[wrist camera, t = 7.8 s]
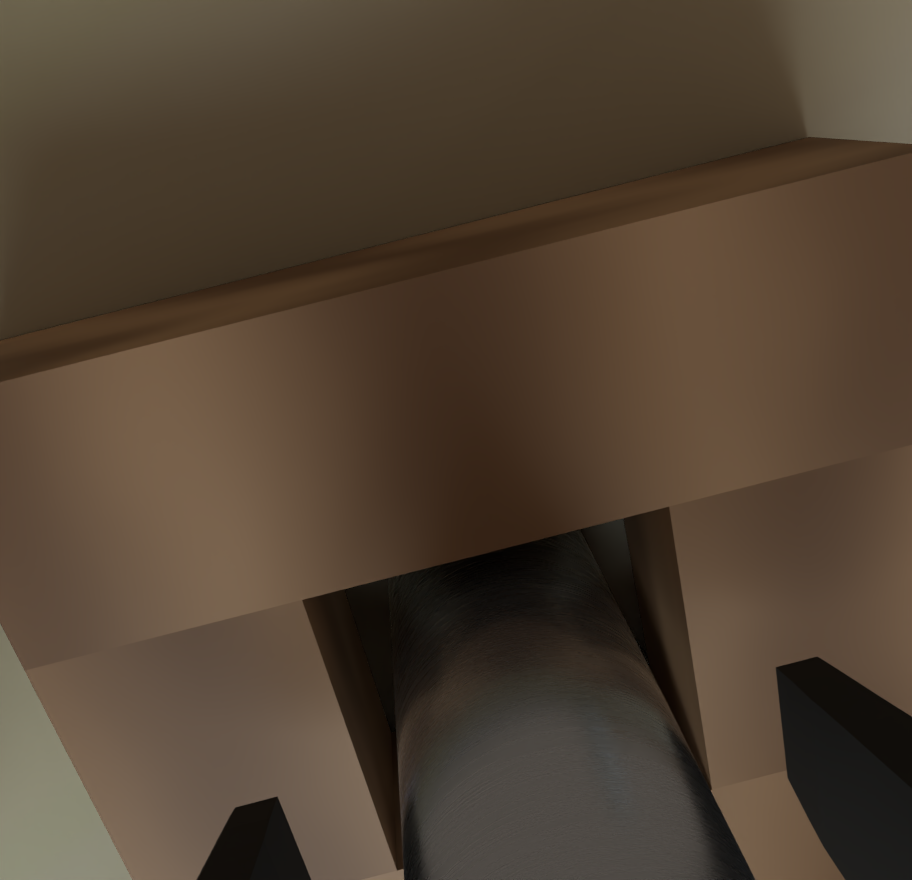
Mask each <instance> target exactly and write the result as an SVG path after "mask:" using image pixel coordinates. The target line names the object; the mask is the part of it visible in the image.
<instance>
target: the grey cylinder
mask: <svg viewBox="0 0 912 880" xmlns="http://www.w3.org/2000/svg"><path fill="white" fill-rule="evenodd" d="M388 589H389V608H390V627H391V645H392V664H393V683H394V701H395V720H396V738H397V757H398V776H399V794H400V813H401V832H402V850H403V869H404V880H755V878H754V876H753V874H752V872H751V870H750V868H749V866H748V864H747V862H746V860H745V858H744V856H743V854H742V852H741V850H740V848H739V846H738V844H737V842H736V840H735V838H734V836H733V834H732V832H731V830H730V828H729V826H728V824H727V822H726V820H725V818H724V816H723V814H722V812H721V810H720V808H719V806H718V804H717V802H716V800H715V798H714V796H713V794H712V792H711V790H710V788H709V786H708V784H707V782H706V780H705V778H704V776H703V774H702V772H701V770H700V768H699V766H698V764H697V762H696V760H695V758H694V756H693V754H692V752H691V750H690V748H689V746H688V744H687V742H686V740H685V738H684V736H683V734H682V732H681V730H680V728H679V726H678V724H677V722H676V720H675V718H674V716H673V714H672V712H671V710H670V708H669V706H668V704H667V702H666V700H665V698H664V696H663V694H662V692H661V690H660V688H659V686H658V684H657V682H656V680H655V678H654V676H653V674H652V672H651V670H650V668H649V666H648V664H647V662H646V660H645V658H644V656H643V654H642V652H641V650H640V648H639V646H638V644H637V642H636V640H635V638H634V636H633V634H632V632H631V630H630V628H629V626H628V624H627V622H626V620H625V618H624V616H623V614H622V612H621V610H620V608H619V606H618V604H617V602H616V600H615V598H614V596H613V594H612V592H611V590H610V588H609V586H608V584H607V582H606V580H605V578H604V576H603V574H602V572H601V570H600V568H599V566H598V564H597V562H596V560H595V558H594V556H593V554H592V552H591V550H590V548H589V546H588V544H587V542H586V540H585V538H584V536H583V534H582V533H581V531H580V529H579V530H575V531H571V532H567V533H563V534H559V535H555V536H551V537H547V538H543V539H540V540H536V541H532V542H528V543H524V544H520V545H516V546H512V547H508V548H504V549H500V550H496V551H492V552H488V553H485V554H481V555H477V556H473V557H469V558H465V559H461V560H457V561H453V562H449V563H445V564H441V565H437V566H433V567H430V568H426V569H422V570H418V571H414V572H410V573H406V574H402V575H398V576H394V577H390V578H388Z"/></svg>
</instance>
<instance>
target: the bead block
mask: <svg viewBox="0 0 912 880" xmlns="http://www.w3.org/2000/svg"><path fill="white" fill-rule="evenodd" d="M622 518H624V524H625V530H626V535H627V541H628V547H629V552H630V558H631V564H632V569H633V575H634V581H635V586H636V592H637V598H638V604H639V609H640V615H641V621H642V626H643V632H644V638H645V643H646V649H647V655H648V660H649V666H650V667H649V668H650V670H651V672H652V674H653V676H654V678H655V680H656V682H657V684H658V686H659V688H660V690H661V692H662V694H663V696H664V698H665V700H666V702H667V704H668V706H669V708H670V710H671V712H672V714H673V716H674V718H675V720H676V722H677V724H678V726H679V728H680V730H681V732H682V734H683V736H684V738H685V740H686V742H687V744H688V746H689V748H690V750H691V752H692V754H693V756H694V758H695V760H696V762H697V764H698V766H699V768H700V770H701V772H702V774H703V776H704V778H705V780H706V782H707V784H708V786H709V788H710V790H711V792H712V794H713V796H714V798H715V800H716V802H717V804H718V806H719V808H720V810H721V812H722V814H723V816H724V818H725V820H726V822H727V824H728V826H729V828H730V830H731V832H732V834H733V836H734V838H735V840H736V842H737V844H738V846H739V848H740V850H741V852H742V854H743V856H744V858H745V860H746V862H747V864H748V866H749V868H750V870H751V872H752V874H753V876H754V878H755V880H845V879H844V877H843V876H842V874H841V873H840V871H839V870H838V868H837V867H836V865H835V864H834V862H833V861H832V859H831V857H830V856H829V854H828V853H827V851H826V850H825V848H824V847H823V845H822V843H821V841H820V839H819V838H818V836H817V834H816V832H815V830H814V828H813V826H812V824H811V823H810V821H809V819H808V817H807V815H806V813H805V811H804V809H803V807H802V805H801V803H800V801H799V799H798V797H797V795H796V793H795V792H794V790H793V788H792V786H791V784H790V782H789V780H788V778H787V769H786V759H785V750H784V741H783V732H782V722H781V713H780V704H779V694H778V685H777V676H776V667H779V666H782V665H786V664H790V663H794V662H798V661H802V660H806V659H809V658H813V657H817V656H818V657H819V658H821V659H822V660H824V661H826V662H827V663H829V664H830V665H832V666H834V667H835V668H837V669H838V670H840V671H841V672H843V673H845V674H846V675H848V676H849V677H851V678H852V679H854V680H855V681H857V682H858V683H860V684H862V685H863V686H865V687H866V688H868V689H869V690H871V691H872V692H874V693H876V694H877V695H879V696H880V697H882V698H883V699H885V700H887V701H888V702H890V703H891V704H893V705H894V706H896V707H898V708H899V709H901V710H902V711H904V712H905V713H907V714H909V715H910V716H912V144H902V143H887V142H873V141H858V140H844V139H830V138H815V137H808V138H804V139H800V140H796V141H792V142H788V143H784V144H780V145H776V146H772V147H768V148H764V149H760V150H756V151H752V152H748V153H744V154H740V155H736V156H732V157H728V158H724V159H720V160H716V161H712V162H708V163H704V164H700V165H696V166H692V167H688V168H684V169H680V170H676V171H673V172H669V173H665V174H661V175H657V176H653V177H649V178H645V179H641V180H637V181H633V182H629V183H625V184H621V185H617V186H613V187H609V188H605V189H601V190H597V191H593V192H589V193H585V194H581V195H577V196H573V197H569V198H565V199H561V200H557V201H553V202H549V203H545V204H541V205H537V206H533V207H529V208H525V209H521V210H517V211H513V212H509V213H505V214H501V215H497V216H493V217H489V218H485V219H481V220H478V221H474V222H470V223H466V224H462V225H458V226H454V227H450V228H446V229H442V230H438V231H434V232H430V233H426V234H422V235H418V236H414V237H410V238H406V239H402V240H398V241H394V242H390V243H386V244H382V245H378V246H374V247H370V248H366V249H362V250H358V251H354V252H350V253H346V254H342V255H338V256H334V257H330V258H326V259H322V260H318V261H314V262H310V263H306V264H302V265H298V266H294V267H290V268H286V269H282V270H279V271H275V272H271V273H267V274H263V275H259V276H255V277H251V278H247V279H243V280H239V281H235V282H231V283H227V284H223V285H219V286H215V287H211V288H207V289H203V290H199V291H195V292H191V293H187V294H183V295H179V296H175V297H171V298H167V299H163V300H159V301H155V302H151V303H147V304H143V305H139V306H135V307H131V308H127V309H123V310H119V311H115V312H111V313H107V314H103V315H99V316H95V317H91V318H87V319H83V320H80V321H76V322H72V323H68V324H64V325H60V326H56V327H52V328H48V329H44V330H40V331H36V332H32V333H28V334H24V335H20V336H16V337H12V338H8V339H4V340H0V624H1V625H2V627H3V629H4V631H5V633H6V635H7V637H8V639H9V641H10V643H11V645H12V647H13V649H14V651H15V653H16V655H17V657H18V658H19V660H20V662H21V664H22V666H23V668H24V670H25V672H26V674H27V676H28V678H29V680H30V682H31V684H32V686H33V688H34V690H35V691H36V693H37V695H38V697H39V699H40V701H41V703H42V705H43V707H44V709H45V711H46V713H47V715H48V717H49V719H50V721H51V723H52V724H53V726H54V728H55V730H56V732H57V734H58V736H59V738H60V740H61V742H62V744H63V746H64V748H65V750H66V752H67V754H68V755H69V757H70V759H71V761H72V763H73V765H74V767H75V769H76V771H77V773H78V775H79V777H80V779H81V781H82V783H83V785H84V787H85V788H86V790H87V792H88V794H89V796H90V798H91V800H92V802H93V804H94V806H95V808H96V810H97V812H98V814H99V816H100V818H101V820H102V821H103V823H104V825H105V827H106V829H107V831H108V833H109V835H110V837H111V839H112V841H113V843H114V845H115V847H116V849H117V851H118V853H119V854H120V856H121V858H122V860H123V862H124V864H125V866H126V868H127V870H128V872H129V874H130V876H131V878H132V880H196V879H197V878H198V876H199V874H200V872H201V870H202V868H203V866H204V864H205V862H206V860H207V859H208V857H209V855H210V853H211V851H212V849H213V847H214V845H215V843H216V841H217V839H218V837H219V836H220V834H221V832H222V830H223V828H224V826H225V824H226V822H227V820H228V819H229V817H230V815H231V813H232V812H233V810H234V809H235V807H239V806H243V805H246V804H250V803H254V802H258V801H262V800H266V799H270V798H273V797H277V796H278V799H279V801H280V804H281V806H282V809H283V811H284V814H285V816H286V819H287V821H288V823H289V826H290V828H291V831H292V833H293V836H294V838H295V841H296V843H297V846H298V848H299V851H300V853H301V856H302V858H303V860H304V863H305V865H306V868H307V870H308V873H309V875H310V878H311V880H404V869H403V850H402V832H401V813H400V794H399V776H398V757H397V738H396V732H393V733H391V731H390V728H389V725H388V722H387V719H386V716H385V713H384V710H383V707H382V704H381V701H380V698H379V694H378V691H377V688H376V685H375V682H374V679H373V676H372V673H371V670H370V667H369V664H368V661H367V658H366V655H365V652H364V649H363V646H362V643H361V639H360V636H359V633H358V630H357V627H356V624H355V621H354V618H353V615H352V612H351V609H350V606H349V603H348V600H347V597H346V594H345V591H344V589H347V588H351V587H355V586H359V585H363V584H367V583H371V582H375V581H378V580H382V579H386V578H390V577H394V576H398V575H402V574H406V573H410V572H414V571H418V570H422V569H426V568H430V567H433V566H437V565H441V564H445V563H449V562H453V561H457V560H461V559H465V558H469V557H473V556H477V555H481V554H485V553H488V552H492V551H496V550H500V549H504V548H508V547H512V546H516V545H520V544H524V543H528V542H532V541H536V540H540V539H543V538H547V537H551V536H555V535H559V534H563V533H567V532H571V531H575V530H579V529H583V528H587V527H591V526H595V525H598V524H602V523H606V522H610V521H614V520H618V519H622Z"/></svg>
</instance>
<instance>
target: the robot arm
mask: <svg viewBox="0 0 912 880" xmlns="http://www.w3.org/2000/svg"><path fill="white" fill-rule="evenodd" d="M776 676H777V685H778V694H779V704H780V713H781V722H782V732H783V741H784V750H785V759H786V769H787V778H788V780H789V782H790V784H791V786H792V788H793V790H794V792H795V793H796V795H797V797H798V799H799V801H800V803H801V805H802V807H803V809H804V811H805V813H806V815H807V817H808V819H809V821H810V823H811V824H812V826H813V828H814V830H815V832H816V834H817V836H818V838H819V839H820V841H821V843H822V845H823V847H824V848H825V850H826V851H827V853H828V854H829V856H830V857H831V859H832V861H833V862H834V864H835V865H836V867H837V868H838V870H839V871H840V873H841V874H842V876H843V877H844V879H845V880H912V716H910V715H909V714H907V713H905V712H904V711H902V710H901V709H899V708H898V707H896V706H894V705H893V704H891V703H890V702H888V701H887V700H885V699H883V698H882V697H880V696H879V695H877V694H876V693H874V692H872V691H871V690H869V689H868V688H866V687H865V686H863V685H862V684H860V683H858V682H857V681H855V680H854V679H852V678H851V677H849V676H848V675H846V674H845V673H843V672H841V671H840V670H838V669H837V668H835V667H834V666H832V665H830V664H829V663H827V662H826V661H824V660H822V659H821V658H819V657H818V656H817V657H813V658H809V659H806V660H802V661H798V662H794V663H790V664H786V665H782V666H779V667H776ZM196 880H311V878H310V875H309V873H308V870H307V868H306V865H305V863H304V860H303V858H302V856H301V853H300V851H299V848H298V846H297V843H296V841H295V838H294V836H293V833H292V831H291V828H290V826H289V823H288V821H287V819H286V816H285V814H284V811H283V809H282V806H281V804H280V801H279V799H278V796H277V797H273V798H270V799H266V800H262V801H258V802H254V803H250V804H246V805H243V806H239V807H235V809H234V810H233V812H232V813H231V815H230V817H229V819H228V820H227V822H226V824H225V826H224V828H223V830H222V832H221V834H220V836H219V837H218V839H217V841H216V843H215V845H214V847H213V849H212V851H211V853H210V855H209V857H208V859H207V860H206V862H205V864H204V866H203V868H202V870H201V872H200V874H199V876H198V878H197V879H196Z"/></svg>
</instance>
